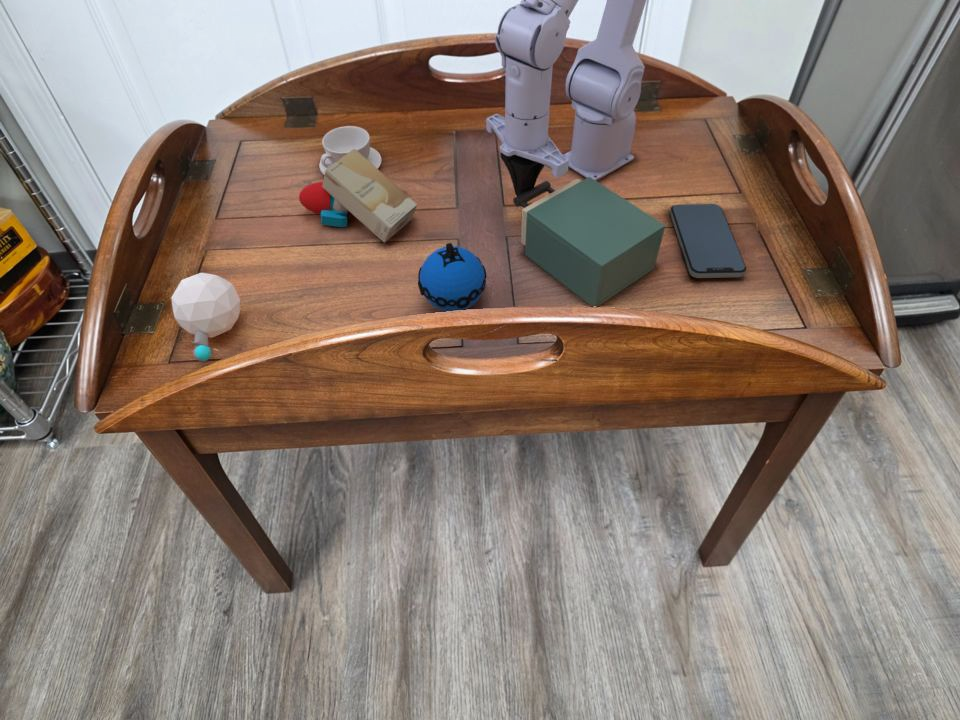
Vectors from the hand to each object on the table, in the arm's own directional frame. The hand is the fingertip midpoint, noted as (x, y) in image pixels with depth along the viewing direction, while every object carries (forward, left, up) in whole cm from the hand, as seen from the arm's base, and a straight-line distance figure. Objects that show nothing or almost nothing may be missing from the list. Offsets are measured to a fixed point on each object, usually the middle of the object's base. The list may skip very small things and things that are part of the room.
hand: (523, 194), depth 94 cm
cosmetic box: (+16, -8, -2) cm, 18 cm away
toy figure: (+19, -17, -4) cm, 26 cm away
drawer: (0, +9, -3) cm, 10 cm away
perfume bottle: (+46, -7, -4) cm, 47 cm away
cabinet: (0, +14, -3) cm, 14 cm away
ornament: (+19, +8, -4) cm, 21 cm away
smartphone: (-15, +22, -4) cm, 27 cm away
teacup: (+13, -27, -4) cm, 30 cm away
